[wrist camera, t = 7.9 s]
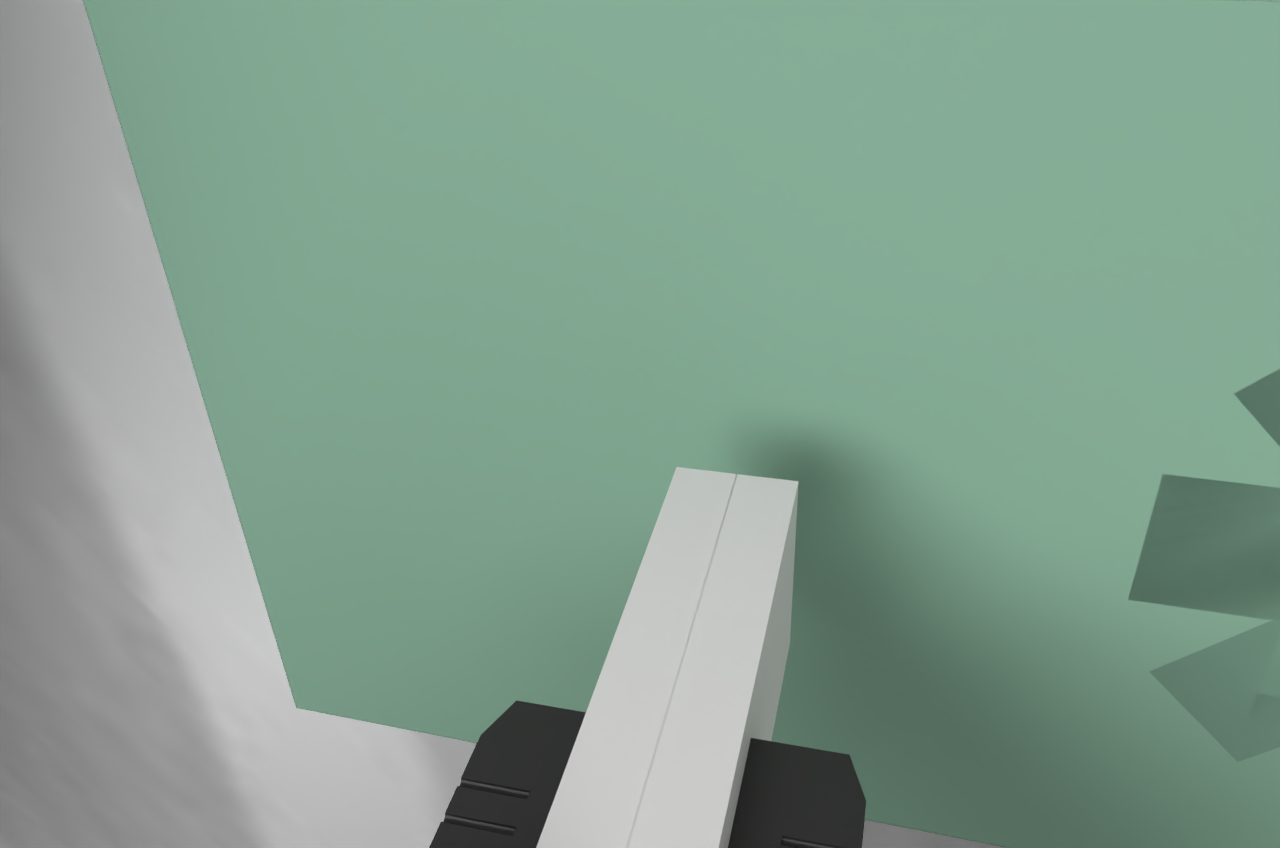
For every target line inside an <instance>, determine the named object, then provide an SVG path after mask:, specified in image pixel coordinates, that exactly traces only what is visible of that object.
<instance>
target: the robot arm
mask: <svg viewBox="0 0 1280 848" xmlns="http://www.w3.org/2000/svg"><path fill="white" fill-rule="evenodd" d="M798 482H799V481H792V480H783V479H775V478H766V477H758V476H749V475H741V474H733V473H724V472H716V471H707V470H699V469H690V468H682V467H676V470H675V473H674V475H673V478H672V481H671V484H670V486H669V489H668V492H667V494H666V497H665V500H664V503H663V505H662V508H661V511H660V513H659V516H658V519H657V522H656V524H655V527H654V530H653V532H652V535H651V538H650V540H649V543H648V546H647V549H646V551H645V554H644V557H643V559H642V562H641V565H640V568H639V570H638V573H637V576H636V578H635V581H634V584H633V587H632V589H631V592H630V595H629V597H628V600H627V603H626V606H625V608H624V611H623V614H622V616H621V619H620V622H619V625H618V627H617V630H616V633H615V635H614V638H613V641H612V644H611V646H610V649H609V652H608V654H607V657H606V660H605V662H604V665H603V668H602V671H601V673H600V676H599V679H598V681H597V684H596V687H595V690H594V692H593V695H592V698H591V700H590V703H589V706H588V709H587V711H586V712H581V711H575V710H569V709H564V708H558V707H552V706H546V705H540V704H534V703H529V702H523V701H517V700H516V701H515V702H514V703H513V704H512V705H511V706H510V707H509V708H508V709H507V710H506V711H505V712H504V713H503V714H502V715H501V716H500V717H499V718H498V719H497V720H496V721H495V722H494V723H493V724H492V725H491V726H490V727H489V728H487V729H486V730H485V731H484V732H483V733H482V734H481V736H480V738H479V740H478V742H477V745H476V747H475V749H474V751H473V753H472V756H471V758H470V760H469V762H468V764H467V766H466V769H465V771H464V773H463V775H462V777H461V784H460V786H457V788H456V791H455V793H454V795H453V797H452V799H451V802H450V804H449V806H448V808H447V810H446V812H445V819H444V822H441V823H440V826H439V828H438V830H437V832H436V834H435V837H434V839H433V841H432V843H431V845H430V847H429V848H862V839H863V829H864V819H865V809H866V799H865V796H864V793H863V791H862V788H861V785H860V782H859V780H858V777H857V774H856V771H855V768H854V766H853V763H852V760H851V757H850V755H849V754H843V753H837V752H831V751H826V750H820V749H814V748H808V747H802V746H796V745H790V744H784V743H779V742H773V741H771V739H772V734H773V729H774V724H775V719H776V713H777V708H778V703H779V698H780V693H781V687H782V682H783V677H784V672H785V666H786V661H787V656H788V651H789V646H790V633H791V614H792V595H793V576H794V557H795V538H796V519H797V500H798Z"/></svg>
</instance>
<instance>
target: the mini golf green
mask: <svg viewBox="0 0 1280 848" xmlns="http://www.w3.org/2000/svg"><path fill="white" fill-rule="evenodd" d="M83 1H84V5H85V8H86V11H87V15H88V18H89V21H90V25H91V28H92V31H93V35H94V38H95V41H96V45H97V48H98V51H99V55H100V58H101V61H102V64H103V68H104V71H105V74H106V78H107V81H108V84H109V88H110V91H111V94H112V98H113V101H114V104H115V108H116V111H117V114H118V118H119V121H120V124H121V128H122V131H123V134H124V137H125V141H126V144H127V147H128V151H129V154H130V157H131V161H132V164H133V167H134V171H135V174H136V177H137V181H138V184H139V187H140V191H141V194H142V197H143V201H144V204H145V207H146V211H147V214H148V217H149V220H150V224H151V227H152V230H153V234H154V237H155V240H156V244H157V247H158V250H159V254H160V257H161V260H162V264H163V267H164V270H165V274H166V277H167V280H168V284H169V287H170V290H171V293H172V297H173V300H174V303H175V307H176V310H177V313H178V317H179V320H180V323H181V327H182V330H183V333H184V337H185V340H186V343H187V347H188V350H189V353H190V357H191V360H192V363H193V367H194V370H195V373H196V376H197V380H198V383H199V386H200V390H201V393H202V396H203V400H204V403H205V406H206V410H207V413H208V416H209V420H210V423H211V426H212V430H213V433H214V436H215V440H216V443H217V446H218V450H219V453H220V456H221V459H222V463H223V466H224V469H225V473H226V476H227V479H228V483H229V486H230V489H231V493H232V496H233V499H234V503H235V506H236V509H237V513H238V516H239V519H240V523H241V526H242V529H243V532H244V536H245V539H246V542H247V546H248V549H249V552H250V556H251V559H252V562H253V566H254V569H255V572H256V576H257V579H258V582H259V586H260V589H261V592H262V596H263V599H264V602H265V606H266V609H267V612H268V615H269V619H270V622H271V625H272V629H273V632H274V635H275V639H276V642H277V645H278V649H279V652H280V655H281V659H282V662H283V665H284V669H285V672H286V675H287V679H288V682H289V685H290V688H291V692H292V695H293V698H294V702H295V705H296V708H301V709H306V710H311V711H316V712H321V713H326V714H331V715H336V716H341V717H346V718H352V719H357V720H362V721H367V722H372V723H377V724H382V725H387V726H392V727H397V728H402V729H407V730H413V731H418V732H423V733H428V734H433V735H438V736H443V737H448V738H453V739H458V740H463V741H468V742H473V743H477V742H478V740H479V738H480V736H481V734H482V733H483V732H484V731H485V730H486V729H487V728H489V727H490V726H491V725H492V724H493V723H494V722H495V721H496V720H497V719H498V718H499V717H500V716H501V715H502V714H503V713H504V712H505V711H506V710H507V709H508V708H509V707H510V706H511V705H512V704H513V703H514V702H515V701H516V700H517V701H523V702H529V703H534V704H540V705H546V706H552V707H558V708H564V709H569V710H575V711H581V712H586V711H587V709H588V706H589V703H590V700H591V698H592V695H593V692H594V690H595V687H596V684H597V681H598V679H599V676H600V673H601V671H602V668H603V665H604V662H605V660H606V657H607V654H608V652H609V649H610V646H611V644H612V641H613V638H614V635H615V633H616V630H617V627H618V625H619V622H620V619H621V616H622V614H623V611H624V608H625V606H626V603H627V600H628V597H629V595H630V592H631V589H632V587H633V584H634V581H635V578H636V576H637V573H638V570H639V568H640V565H641V562H642V559H643V557H644V554H645V551H646V549H647V546H648V543H649V540H650V538H651V535H652V532H653V530H654V527H655V524H656V522H657V519H658V516H659V513H660V511H661V508H662V505H663V503H664V500H665V497H666V494H667V492H668V489H669V486H670V484H671V481H672V478H673V475H674V473H675V470H676V467H682V468H690V469H699V470H707V471H716V472H724V473H733V474H741V475H749V476H758V477H766V478H775V479H783V480H792V481H799V482H798V500H797V519H796V538H795V557H794V576H793V595H792V614H791V633H790V646H789V651H788V656H787V661H786V666H785V672H784V677H783V682H782V687H781V693H780V698H779V703H778V708H777V713H776V719H775V724H774V729H773V734H772V739H771V741H773V742H779V743H784V744H790V745H796V746H802V747H808V748H814V749H820V750H826V751H831V752H837V753H843V754H849V755H850V757H851V760H852V763H853V766H854V768H855V771H856V774H857V777H858V780H859V782H860V785H861V788H862V791H863V793H864V796H865V799H866V809H865V820H870V821H875V822H880V823H885V824H890V825H895V826H900V827H905V828H910V829H916V830H921V831H926V832H931V833H936V834H941V835H946V836H951V837H956V838H961V839H966V840H971V841H977V842H982V843H987V844H992V845H997V846H1002V847H1007V848H1280V0H83Z"/></svg>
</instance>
